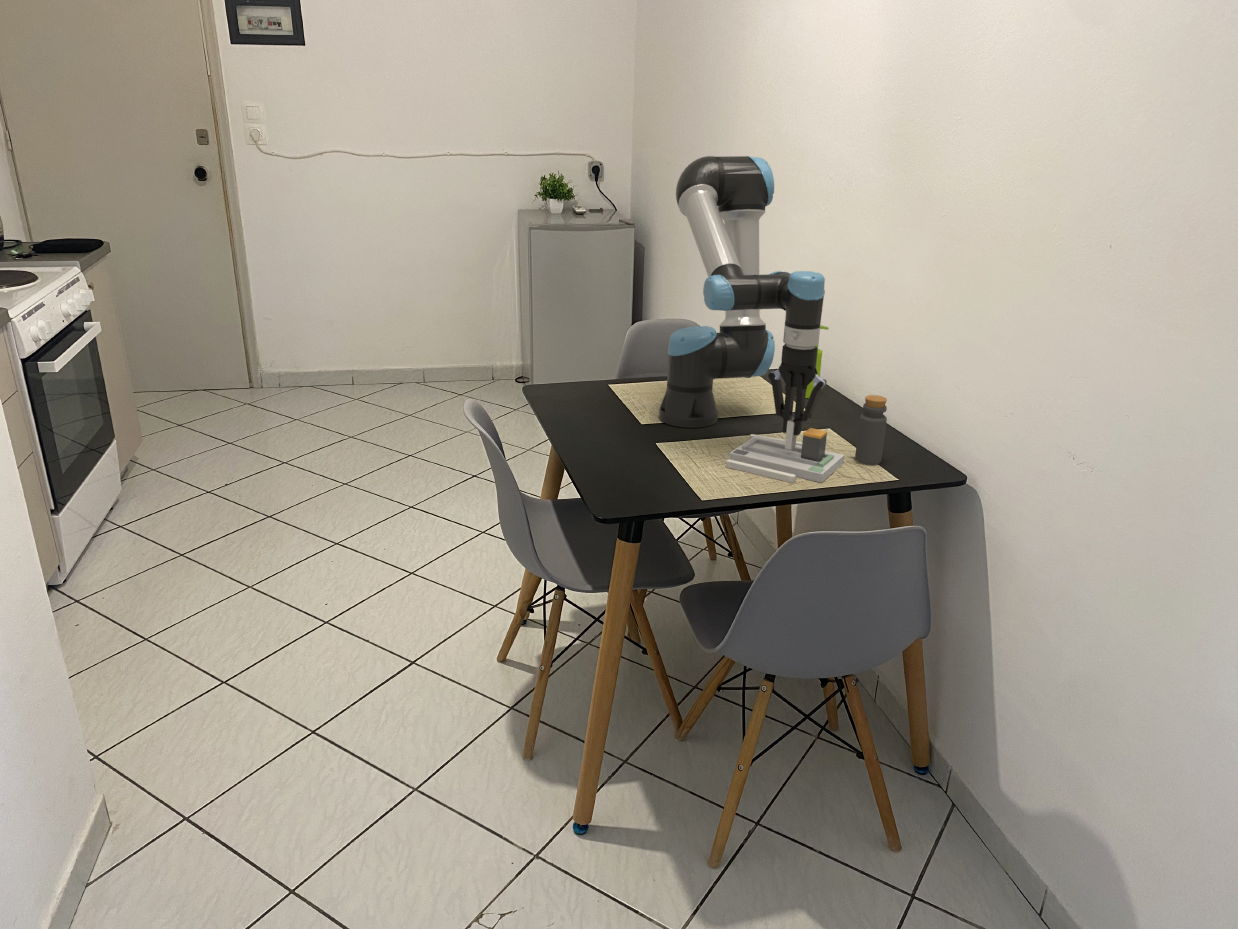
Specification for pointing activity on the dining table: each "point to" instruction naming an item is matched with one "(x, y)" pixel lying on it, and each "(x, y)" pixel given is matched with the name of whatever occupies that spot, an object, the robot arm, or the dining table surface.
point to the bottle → (871, 431)
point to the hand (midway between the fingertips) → (790, 447)
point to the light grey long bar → (761, 471)
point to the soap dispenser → (818, 367)
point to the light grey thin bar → (774, 439)
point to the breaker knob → (813, 444)
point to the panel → (786, 459)
